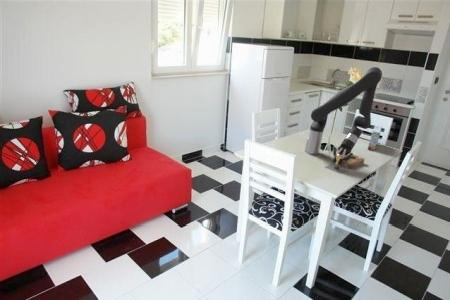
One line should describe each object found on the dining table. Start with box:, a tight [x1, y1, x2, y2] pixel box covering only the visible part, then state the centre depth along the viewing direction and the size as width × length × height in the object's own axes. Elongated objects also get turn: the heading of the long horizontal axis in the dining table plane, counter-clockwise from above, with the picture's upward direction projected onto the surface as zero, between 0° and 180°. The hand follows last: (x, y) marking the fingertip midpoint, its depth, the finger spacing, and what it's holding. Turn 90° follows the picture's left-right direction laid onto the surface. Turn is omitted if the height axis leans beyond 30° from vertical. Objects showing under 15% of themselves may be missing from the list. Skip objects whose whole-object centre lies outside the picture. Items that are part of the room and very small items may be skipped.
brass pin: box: [334, 153, 342, 170], centre depth 204 cm, size 3×3×10 cm
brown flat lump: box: [340, 154, 365, 170], centre depth 217 cm, size 12×18×4 cm, turn 132°
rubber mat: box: [324, 163, 349, 175], centre depth 206 cm, size 12×10×1 cm
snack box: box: [367, 125, 383, 152], centre depth 251 cm, size 21×6×15 cm, turn 151°
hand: (336, 163), depth 203 cm, fingers closed on brass pin, 3 cm apart
